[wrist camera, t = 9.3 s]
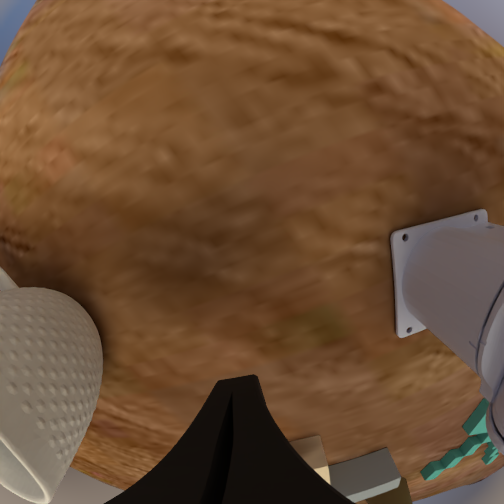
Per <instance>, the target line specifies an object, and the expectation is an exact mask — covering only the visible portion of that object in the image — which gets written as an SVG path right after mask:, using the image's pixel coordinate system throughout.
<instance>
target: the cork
mask: <svg viewBox="0 0 504 504" xmlns="http://www.w3.org/2000/svg"><path fill="white" fill-rule="evenodd" d="M366 501H367V503H368V504H412V500H411V496H410V492H409V488H408V485H407V481H406V479H405V478H401V480H400V483H399V486H398V487H397V488H394V489H392V490H389V491H387V492H384V493H381V494H379V495H376V496H373V497H370V498H367V499H366Z"/></svg>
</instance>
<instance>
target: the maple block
mask: <svg viewBox="0 0 504 504" xmlns="http://www.w3.org/2000/svg"><path fill="white" fill-rule="evenodd" d="M289 443H290V444H291V445H292V447H293V448H294V449H295V450H296V451H297V453H298V454H299V455H300V456H301V457H302V458H303V459H304V460H305V462H306V463H307V464H308V465H309V466H310V467H311V468H313V469H314V470H315V471H316V472H317V473H318V474H319V475H320V476H321V477H322V478H323V479H324V480H325V481H326V482H328V483H329V484H330V476H329V468H328V463H327V460H326V456H325V452H324V449H323V445H322V442H321V438H320V435H317V436H313V437H309V438H305V439H301V440H296V441H291V442H289Z"/></svg>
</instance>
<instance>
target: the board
mask: <svg viewBox="0 0 504 504" xmlns="http://www.w3.org/2000/svg"><path fill="white" fill-rule="evenodd" d="M328 468H329V476H330V485H331V486H332V487H334V488H335V489H336V490H337V491H339V492H340V493H341V494H343V495H344V496H345V497H347V498H348V499H350V500H351V501H352V502H354V503H355V502H358V501H361V500H364V499H367V498H370V497H373V496H376V495H379V494H381V493H384V492H387V491H389V490H392V489H394V488H397V487H398V486H399V483H400V480H401V476H400V474H399V471H398V469H397V467H396V465H395V463H394V461H393V459H392V457H391V455H390V452H389V450H388V448H384V449H382V450H379V451H376V452H373V453H370V454H368V455H365V456H362V457H358V458H355V459H352V460H349V461H345V462H342V463H339V464H335V465H331V466H328Z"/></svg>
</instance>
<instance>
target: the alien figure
mask: <svg viewBox="0 0 504 504" xmlns="http://www.w3.org/2000/svg"><path fill="white" fill-rule="evenodd" d="M488 406H489V402H488V400H487V399H483V400H482V401H481V402H480V404H479V405H478V407H477V408H476V409H475V411H474V412H473V413H472V415H471V416H470V417H469V419H468V420H467V421H466V422H465V424H464V425H463V426H462V427H463V428H464V430H465V431H466V432H467V434H468V435H474V434H478V435H477V436H473V437H468V439H467V440H466V441H465V442H464V443H463V444H462V445H461V447H460V448H459V449H452V450H450V451H449V452H448V453H447V454H446V455H445V456H444V457H443V458H442V459H441V460H440V461H434V462H430V463H429V464H428V465H427V466H426V467H425V468H424V469H423V470H422V471H421V474H422V476H423V478H424V480H431V479H435V478H436V477H437V476H438V475H439V474H440V473H441V472H442V471H443V470H444V469H446V468H451V467H454V466H455V465H456V464H457V463H458V462H459V461H460V460H461V459H462V458H463V457H464V456H468V455H472V454H473V453H474V452H475V451H476V449H477V448H478V447H479V446H480V445H481V444H482V443H486V442H487V444H488V445H489V446H488V448H487V449H486V450H485V451H484V452H485V453H486V455H485V456H484V457H483V458H482V460H483V461H484V463H485V464H489V463H491V462H492V461H493V460H494V459H495V458H496V457H497V456H498V455H499V453H498V449H497V448H496V447H495V446H494V445H493V443H492V441H491V440H490V438H489V435H488V433H487V429H486V412H487V408H488Z"/></svg>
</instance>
